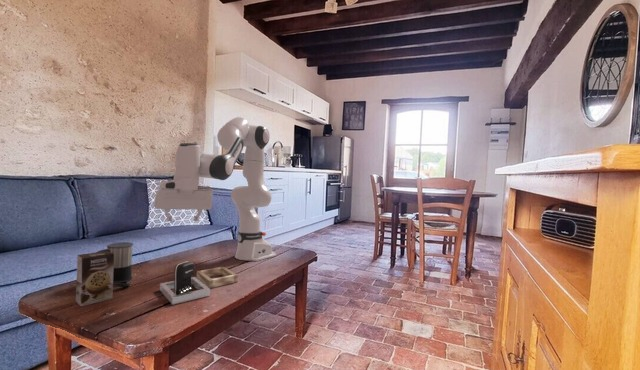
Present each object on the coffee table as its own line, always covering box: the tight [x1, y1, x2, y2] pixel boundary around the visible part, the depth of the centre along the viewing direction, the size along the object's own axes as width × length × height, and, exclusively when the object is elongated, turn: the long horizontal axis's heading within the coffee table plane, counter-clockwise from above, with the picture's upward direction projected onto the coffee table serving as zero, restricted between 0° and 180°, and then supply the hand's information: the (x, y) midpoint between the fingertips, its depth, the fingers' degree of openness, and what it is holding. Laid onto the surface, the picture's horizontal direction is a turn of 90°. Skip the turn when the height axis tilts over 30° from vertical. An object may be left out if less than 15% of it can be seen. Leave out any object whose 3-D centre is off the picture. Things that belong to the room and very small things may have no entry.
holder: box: [159, 276, 211, 306], centre depth 111 cm, size 13×16×2 cm
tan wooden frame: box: [196, 266, 239, 289], centre depth 125 cm, size 12×14×3 cm
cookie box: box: [75, 251, 114, 307], centre depth 101 cm, size 9×6×16 cm
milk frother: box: [97, 241, 134, 289], centre depth 117 cm, size 14×16×15 cm
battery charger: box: [173, 260, 195, 295], centre depth 111 cm, size 7×4×11 cm, turn 159°
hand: (182, 220), depth 112 cm, fingers open, 8 cm apart
